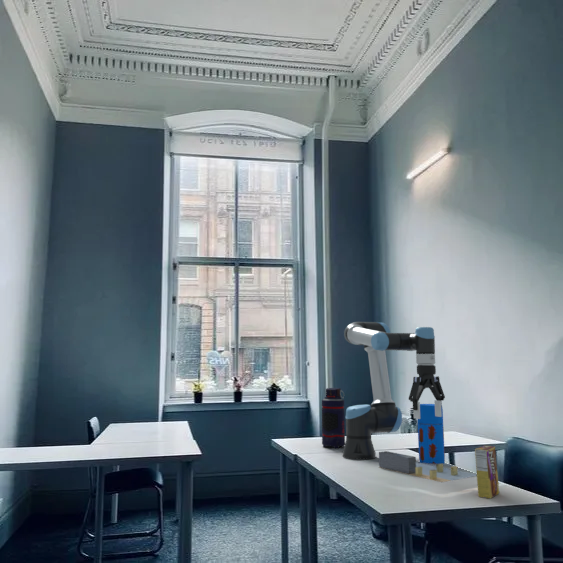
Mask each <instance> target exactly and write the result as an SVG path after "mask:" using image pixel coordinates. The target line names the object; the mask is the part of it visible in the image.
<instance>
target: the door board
mask: <svg viewBox="0 0 563 563" xmlns="http://www.w3.org/2000/svg"><path fill="white" fill-rule="evenodd" d="M416 467H422V475H421V476H416V473H413V474H406V473H402V472H399V473H401V474H405V475H409V476H414V477H418V478H422V479H427V480H430V481H434V482H438V483H439V482H440V483H446V482H451V481H452V482H453V481H456V480H463V479H467V478H472V477H477V473H472V472H467V471H461V470H458V469H457V471H458V475H451V468H448V467H443V472H437V479H430V470H436V471H437V467H436V465H434V464H429V463H420V462H418V461H416ZM378 468H379V469H383V470H385V469H384V468H380V467H379V466H378ZM386 470H388V471H391V472H396V473H398V472H397V471H393V470H389V469H386Z"/></svg>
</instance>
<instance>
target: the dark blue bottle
mask: <svg viewBox="0 0 563 563" xmlns="http://www.w3.org/2000/svg"><path fill="white" fill-rule="evenodd" d="M341 392H342V393H343V395H345V393H344V391H343V390H342V389H341V388H340V387H327V388H325V397H324V398H323V399H321V434H322V435H321V445H322V447H323V448H326V447H333V448H334V449H339V448H340V447H342V446H343V448H344V446H345V442H346V418H345V417H346V414H345V400H344V399H343V396H342V394H341Z"/></svg>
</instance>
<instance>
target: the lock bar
mask: <svg viewBox="0 0 563 563" xmlns="http://www.w3.org/2000/svg"><path fill="white" fill-rule="evenodd" d="M378 461H379V462H378V467H380V468H379V469H382V468H384V469H383V470H387V469H389V470H388V471H391V470H393V471H392V472H395V471H397V472H396V473H400V472H402V473H401V474H404V473H406V474H405V475H408V474H413V473H416V471H415V467H416V462H417V459H416V456H412V455H407V454H403V453H397V452H392V451H388V450H387V451H386V450H385V451H378Z"/></svg>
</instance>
